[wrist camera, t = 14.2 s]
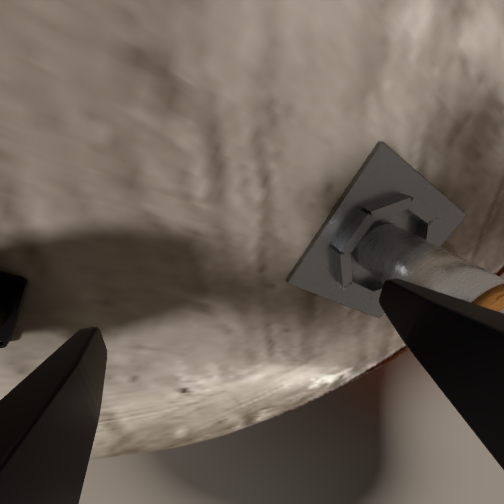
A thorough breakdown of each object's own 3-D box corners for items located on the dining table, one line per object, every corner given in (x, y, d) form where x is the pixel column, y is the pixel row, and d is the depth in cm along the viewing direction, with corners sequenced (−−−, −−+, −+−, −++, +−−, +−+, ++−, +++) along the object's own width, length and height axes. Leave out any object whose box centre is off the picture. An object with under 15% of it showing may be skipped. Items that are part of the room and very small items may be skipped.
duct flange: (376, 315, 31) (386, 325, 29) (285, 280, 25) (292, 290, 23) (462, 213, 27) (478, 219, 25) (378, 141, 21) (393, 143, 19)
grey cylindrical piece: (367, 279, 27) (488, 381, 17) (348, 247, 24) (479, 345, 14) (409, 248, 26) (560, 333, 16) (394, 211, 24) (565, 286, 13)
